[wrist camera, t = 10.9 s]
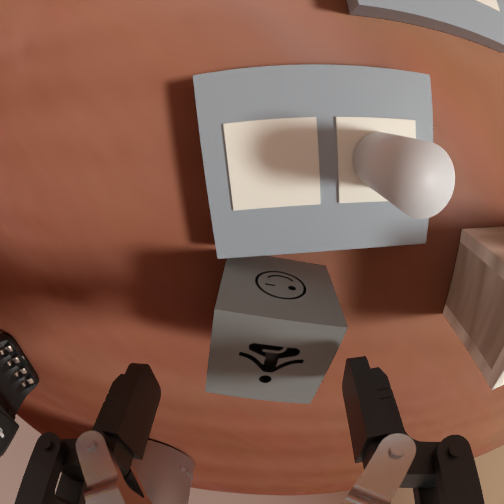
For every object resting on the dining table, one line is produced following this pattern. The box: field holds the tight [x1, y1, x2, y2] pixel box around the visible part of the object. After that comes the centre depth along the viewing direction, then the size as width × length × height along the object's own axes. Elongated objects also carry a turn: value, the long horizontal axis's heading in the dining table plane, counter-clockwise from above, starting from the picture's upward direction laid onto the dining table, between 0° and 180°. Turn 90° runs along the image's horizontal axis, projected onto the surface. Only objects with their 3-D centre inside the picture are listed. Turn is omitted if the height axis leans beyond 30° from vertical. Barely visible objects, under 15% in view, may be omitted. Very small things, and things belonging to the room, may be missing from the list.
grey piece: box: [193, 64, 455, 259], centre depth 10 cm, size 10×8×6 cm
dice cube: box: [205, 256, 348, 404], centre depth 14 cm, size 5×5×5 cm
